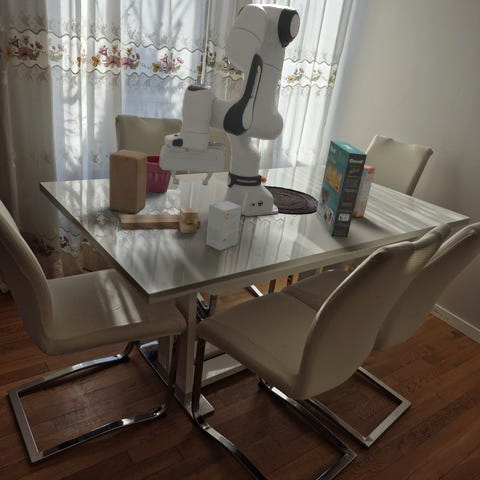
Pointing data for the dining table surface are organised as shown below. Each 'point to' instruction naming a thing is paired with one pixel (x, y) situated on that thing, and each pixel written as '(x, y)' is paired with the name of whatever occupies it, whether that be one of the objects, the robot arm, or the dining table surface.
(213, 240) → the small box
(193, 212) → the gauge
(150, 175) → the plant pot
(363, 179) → the cracker box
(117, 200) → the wooden block
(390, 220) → the dining table surface
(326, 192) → the cake mix box
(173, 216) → the plank
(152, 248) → the dining table surface
